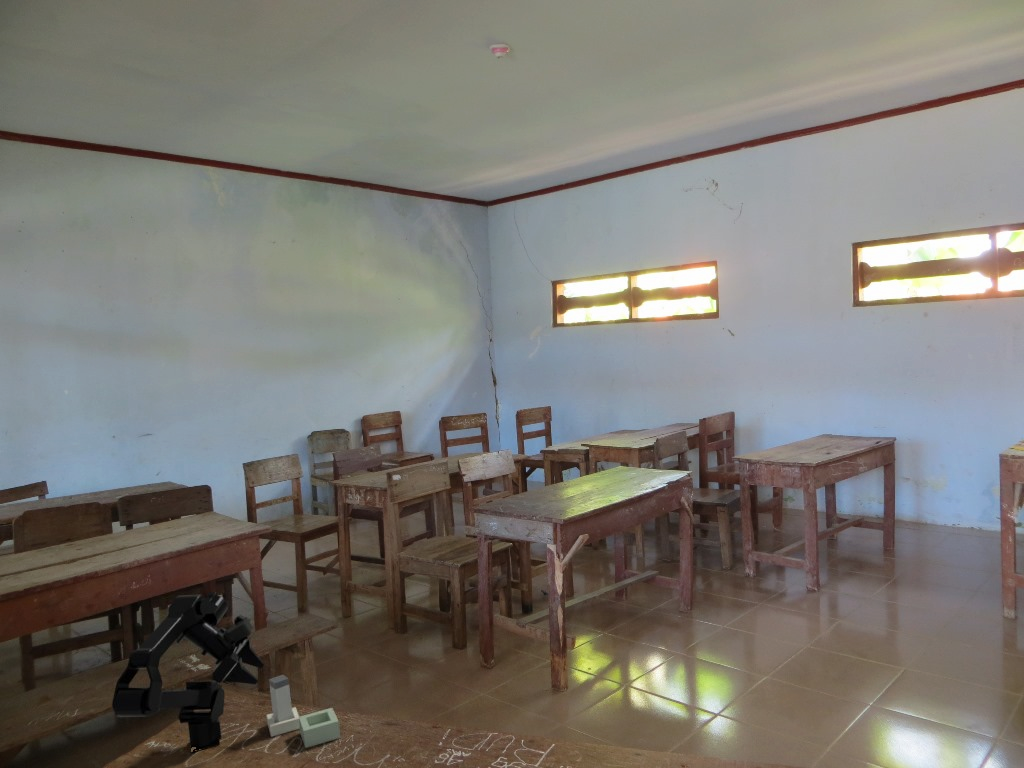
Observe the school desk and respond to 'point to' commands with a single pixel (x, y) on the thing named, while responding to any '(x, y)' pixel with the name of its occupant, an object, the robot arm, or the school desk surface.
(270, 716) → the low collar
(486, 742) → the school desk surface
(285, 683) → the plug
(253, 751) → the school desk surface
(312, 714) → the raised socket
